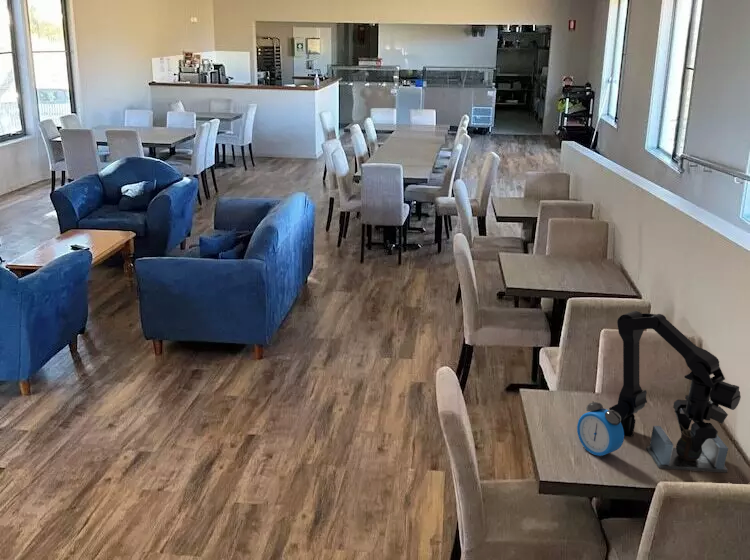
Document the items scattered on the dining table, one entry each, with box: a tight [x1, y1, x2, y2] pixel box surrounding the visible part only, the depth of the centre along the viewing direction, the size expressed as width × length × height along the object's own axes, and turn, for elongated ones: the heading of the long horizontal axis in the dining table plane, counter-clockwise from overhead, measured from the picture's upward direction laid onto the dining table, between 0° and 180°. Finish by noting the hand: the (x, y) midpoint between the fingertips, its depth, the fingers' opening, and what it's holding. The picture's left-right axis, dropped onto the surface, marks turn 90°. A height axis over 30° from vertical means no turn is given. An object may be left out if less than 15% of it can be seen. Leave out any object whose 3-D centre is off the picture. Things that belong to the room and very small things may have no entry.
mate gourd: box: [675, 423, 702, 461], centre depth 223 cm, size 7×8×10 cm
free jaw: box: [649, 425, 674, 465], centre depth 223 cm, size 2×11×7 cm, turn 178°
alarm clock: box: [576, 400, 625, 460], centre depth 224 cm, size 13×6×15 cm, turn 35°
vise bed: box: [646, 434, 729, 473], centre depth 223 cm, size 20×11×8 cm, turn 88°
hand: (689, 443), depth 223 cm, fingers open, 9 cm apart
